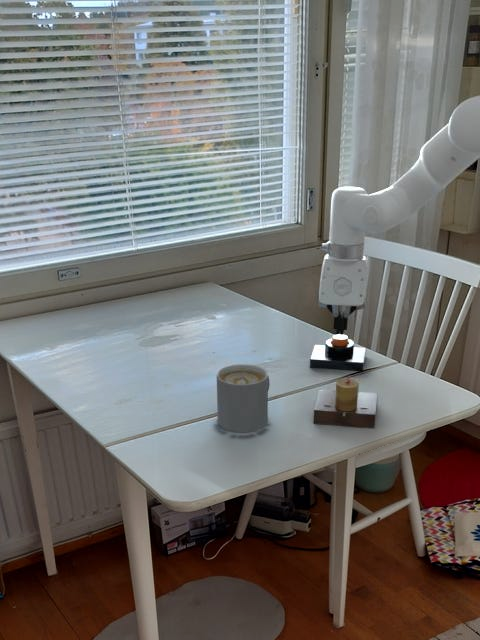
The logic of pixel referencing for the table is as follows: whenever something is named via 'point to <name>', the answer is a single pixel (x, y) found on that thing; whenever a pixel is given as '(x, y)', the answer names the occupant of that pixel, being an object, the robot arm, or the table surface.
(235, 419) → the coffee mug
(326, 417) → the dial panel
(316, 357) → the button box
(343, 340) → the button
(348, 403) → the dial
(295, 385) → the table surface
